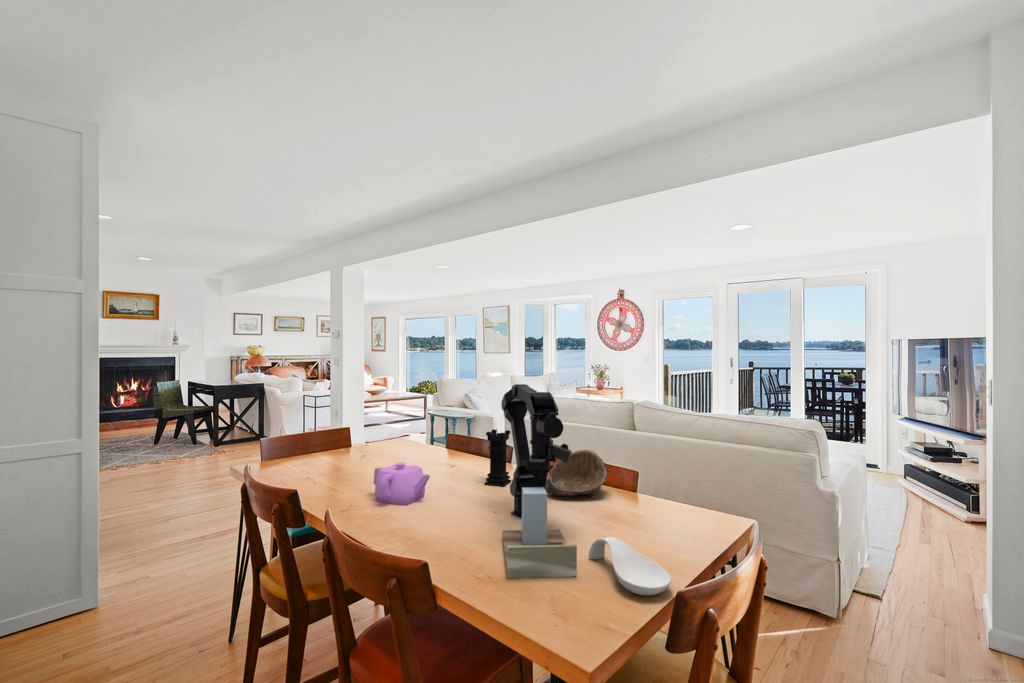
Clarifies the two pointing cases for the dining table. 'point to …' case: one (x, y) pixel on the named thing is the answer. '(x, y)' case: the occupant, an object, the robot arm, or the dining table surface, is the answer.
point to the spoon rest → (632, 567)
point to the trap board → (539, 556)
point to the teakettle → (399, 484)
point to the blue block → (534, 515)
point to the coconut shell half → (577, 475)
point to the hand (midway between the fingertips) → (542, 491)
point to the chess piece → (498, 459)
